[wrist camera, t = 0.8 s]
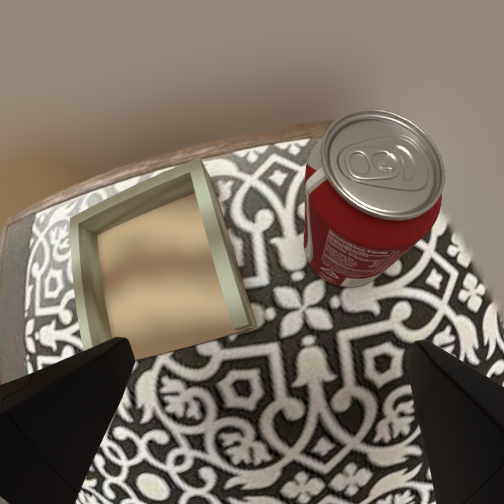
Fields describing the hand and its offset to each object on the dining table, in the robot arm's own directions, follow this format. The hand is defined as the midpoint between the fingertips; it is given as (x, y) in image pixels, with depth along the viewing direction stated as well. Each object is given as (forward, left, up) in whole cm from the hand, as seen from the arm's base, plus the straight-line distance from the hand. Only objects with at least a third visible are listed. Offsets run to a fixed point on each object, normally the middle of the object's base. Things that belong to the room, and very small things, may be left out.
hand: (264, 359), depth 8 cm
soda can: (+4, -8, -13) cm, 16 cm away
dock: (+10, +6, -13) cm, 17 cm away
